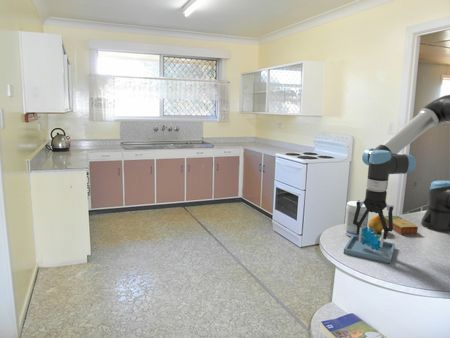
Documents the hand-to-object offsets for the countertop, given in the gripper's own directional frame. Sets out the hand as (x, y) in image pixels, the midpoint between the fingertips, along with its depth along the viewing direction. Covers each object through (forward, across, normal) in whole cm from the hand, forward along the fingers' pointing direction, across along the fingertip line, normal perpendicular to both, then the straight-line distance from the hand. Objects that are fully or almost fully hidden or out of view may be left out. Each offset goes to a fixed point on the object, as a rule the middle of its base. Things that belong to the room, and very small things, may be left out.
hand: (370, 243), depth 144 cm
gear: (+2, 0, 0) cm, 2 cm away
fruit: (+3, -1, +25) cm, 25 cm away
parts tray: (+3, 0, 0) cm, 3 cm away
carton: (+4, +8, +35) cm, 36 cm away
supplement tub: (+3, -9, +15) cm, 18 cm away
